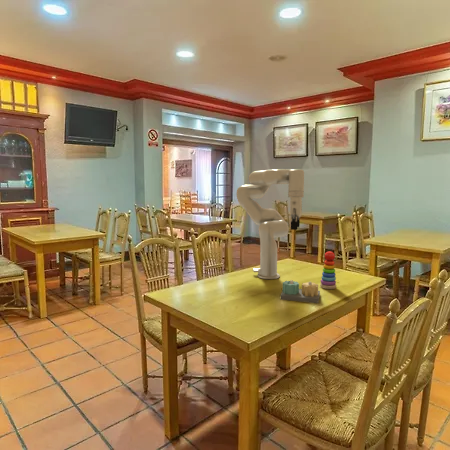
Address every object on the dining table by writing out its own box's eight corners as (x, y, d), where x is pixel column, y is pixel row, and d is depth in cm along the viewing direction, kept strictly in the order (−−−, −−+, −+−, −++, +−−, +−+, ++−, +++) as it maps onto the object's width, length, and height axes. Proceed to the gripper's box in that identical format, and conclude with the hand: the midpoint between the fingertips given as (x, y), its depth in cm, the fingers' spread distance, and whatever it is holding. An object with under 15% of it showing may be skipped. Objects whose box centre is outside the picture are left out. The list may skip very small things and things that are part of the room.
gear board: (280, 299, 162) (280, 282, 161) (284, 291, 173) (284, 276, 172) (318, 303, 156) (318, 286, 155) (319, 294, 168) (320, 278, 167)
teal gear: (281, 293, 163) (281, 284, 163) (283, 288, 171) (284, 280, 170) (297, 295, 161) (298, 286, 161) (299, 290, 168) (299, 281, 168)
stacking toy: (337, 290, 174) (338, 253, 172) (320, 289, 176) (321, 252, 173) (335, 285, 182) (336, 250, 180) (319, 284, 184) (320, 249, 181)
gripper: (301, 195, 166) (300, 231, 168) (305, 193, 182) (304, 226, 184) (285, 195, 168) (285, 230, 170) (290, 193, 184) (289, 225, 187)
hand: (295, 228), depth 177 cm, fingers open, 9 cm apart
